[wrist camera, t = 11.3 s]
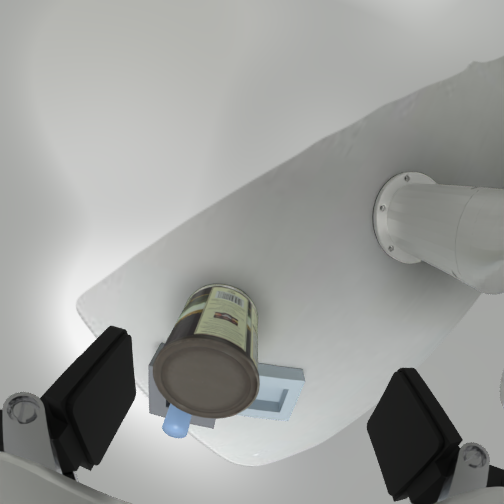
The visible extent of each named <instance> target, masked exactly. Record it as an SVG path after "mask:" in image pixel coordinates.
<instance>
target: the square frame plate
mask: <svg viewBox="0 0 504 504" xmlns="http://www.w3.org/2000/svg"><path fill="white" fill-rule="evenodd" d="M258 373H259V379H260V387H259V392H258V395H257V397H256V399H255V401H254V402H253V403H252V404H251V406H249V407H248V408H247V409H246V410H244V411H242V412H241V413H239V414H236V415H240V416H247V417H254V418H262V419H271V420H281V421H289V418H290V416H291V414H292V411H293V409H294V407H295V405H296V402H297V400H298V397H299V395H300V393H301V390H302V388H303V385H304V383H305V378H304V374H303V370H302V369H297V368H288V367H281V366H274V365H267V364H260V363H258Z"/></svg>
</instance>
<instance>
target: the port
mask: <svg viewBox="0 0 504 504" xmlns="http://www.w3.org/2000/svg"><path fill="white" fill-rule="evenodd" d="M164 345H165V344H164V343H161V344H160V346H159V348H158V350H157V351H156V353H155V355H154V357H153V358H152V360H151V362H150V364H149V411H150V412H149V413H151V414H154V415H158V416H161V417H166V415H167V412H168V409H169V406H170V403H169V402H168V401H167V400H166V399H165V398H164V397H163V396H162V394H161V393H160V392H159V390H158V388H157V386H156V384H155V381H154V378H153V364H154V361H155V359H156V357H157V355H158V353H159V352H160V351H161V349H162V348H163V347H164ZM215 419H216V418H215ZM215 419H212V418H202V417H197V416H194V415H192V416H191V420H190V424H193V425H198V426H203V427H208V428H213V429H214V424H215Z"/></svg>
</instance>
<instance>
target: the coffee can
mask: <svg viewBox="0 0 504 504" xmlns="http://www.w3.org/2000/svg"><path fill="white" fill-rule="evenodd" d="M257 323H258V314H257V311H256V308H255V306H254V304H253V302H252V301H251V299H250V298H249V297H248V296H247V295H246V294H245V293H244V292H242V291H241V290H239V289H237V288H235V287H232V286H229V285H223V284H213V285H208V286H205V287H202V288H200V289H199V290H197V291H196V292H194V293H193V294H192V295H191V296H190V298H189V299H188V301H187V303H186V305H185V308H184V310H183V311H182V313H181V315H180V317H179V319H178V321H177V323H176V325H175V327H174V328H173V330H172V332H171V334H170V335H169V337H168V339H167V341H166V343H165V345H164V347H163V348H162V349H161V351H160V352H159V353H158V355H157V357H156V359H155V361H154V364H153V378H154V381H155V384H156V386H157V388H158V390H159V392H160V393H161V394H162V396H163V397H164V398H165V399H166V400H167V401H168V402H169V403H171V404H172V405H173V406H175V407H176V408H178V409H180V410H181V411H183V412H186V413H188V414H191V415H194V416H197V417H202V418H212V419H215V418H226V417H230V416H234V415H236V414H239V413H241V412H242V411H244V410H246V409H247V408H248V407H249V406H251V404H252V403H253V402H254V401H255V399H256V397H257V395H258V392H259V387H260V379H259V373H258V341H257Z"/></svg>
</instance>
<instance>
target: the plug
mask: <svg viewBox="0 0 504 504" xmlns="http://www.w3.org/2000/svg"><path fill="white" fill-rule="evenodd" d="M191 416H192V415H191V414H188V413H186V412H183V411H181V410H180V409H178V408H176V407H175V406H173V405H172V404H171V403H170V406H169V409H168V412H167V415H166V417H165V420H164V423H163V426H162V429H163V431H164V432H165V433H166V434H167V435H169V436H171V437H174V438H183V437H185V436H186V435H187V432H188V428H189V424H190V420H191Z"/></svg>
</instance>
